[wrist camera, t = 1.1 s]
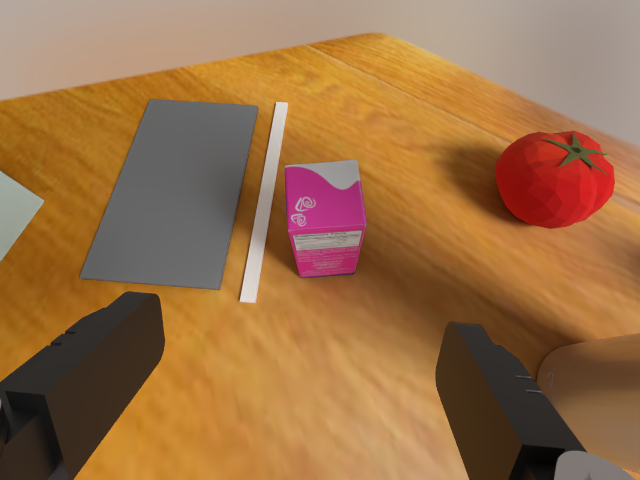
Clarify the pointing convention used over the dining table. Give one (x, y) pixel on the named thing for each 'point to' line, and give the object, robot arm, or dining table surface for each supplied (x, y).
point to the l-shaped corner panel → (14, 211)
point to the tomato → (554, 178)
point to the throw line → (264, 207)
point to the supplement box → (325, 217)
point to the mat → (175, 197)
